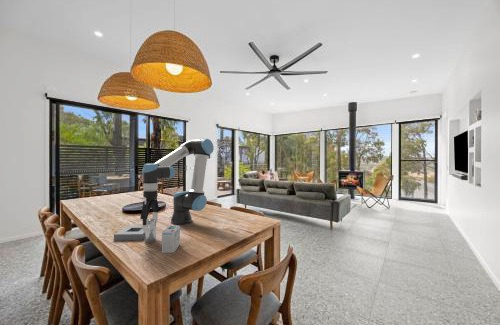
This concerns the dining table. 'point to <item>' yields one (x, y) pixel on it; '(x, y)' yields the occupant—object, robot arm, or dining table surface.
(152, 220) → the end cap
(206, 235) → the dining table surface
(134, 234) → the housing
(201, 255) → the dining table surface
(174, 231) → the light bulb box
